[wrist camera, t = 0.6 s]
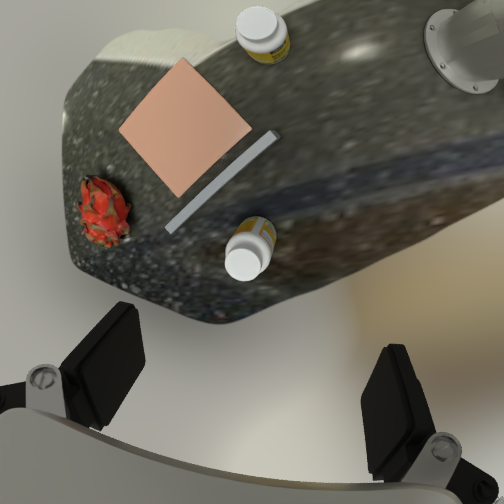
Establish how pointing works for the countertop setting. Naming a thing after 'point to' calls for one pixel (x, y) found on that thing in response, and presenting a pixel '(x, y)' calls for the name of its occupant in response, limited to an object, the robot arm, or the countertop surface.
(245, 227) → the supplement bottle
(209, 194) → the low wall
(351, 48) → the countertop surface
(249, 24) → the supplement bottle
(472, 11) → the robot arm
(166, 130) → the tile
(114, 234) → the dragon fruit
